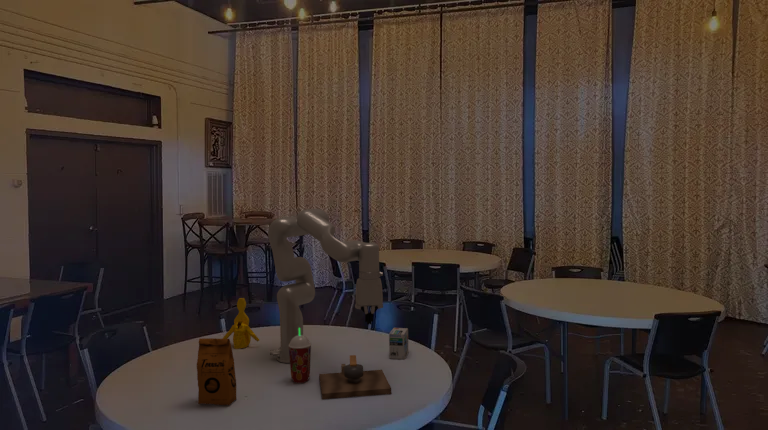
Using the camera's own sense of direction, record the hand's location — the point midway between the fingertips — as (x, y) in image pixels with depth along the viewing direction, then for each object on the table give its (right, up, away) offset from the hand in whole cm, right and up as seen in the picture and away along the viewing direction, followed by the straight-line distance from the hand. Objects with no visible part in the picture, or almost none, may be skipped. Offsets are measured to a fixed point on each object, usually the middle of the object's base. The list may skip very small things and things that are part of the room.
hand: (369, 323), depth 208 cm
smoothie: (-26, -21, -2) cm, 33 cm away
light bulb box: (+12, -19, +26) cm, 35 cm away
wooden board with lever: (-5, -21, -9) cm, 24 cm away
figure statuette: (-60, -19, +43) cm, 76 cm away
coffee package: (-51, -23, -22) cm, 60 cm away
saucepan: (-6, -17, -5) cm, 18 cm away
